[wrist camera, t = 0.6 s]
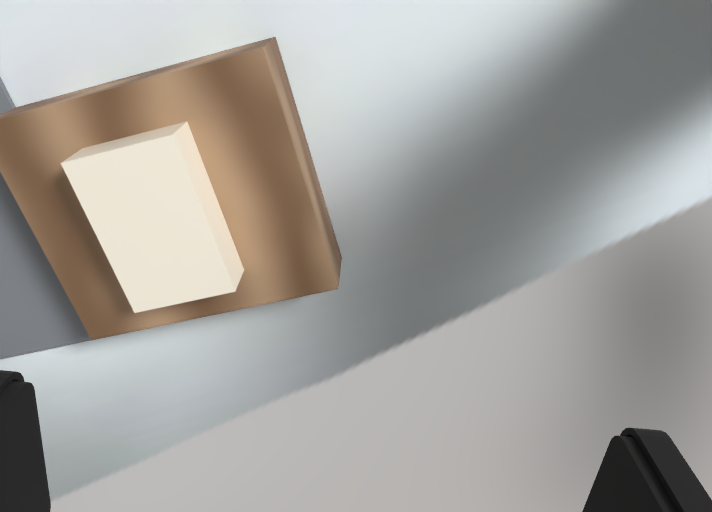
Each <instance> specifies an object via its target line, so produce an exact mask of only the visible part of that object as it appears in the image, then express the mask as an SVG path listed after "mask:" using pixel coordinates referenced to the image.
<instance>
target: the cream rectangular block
mask: <svg viewBox="0 0 712 512" xmlns="http://www.w3.org/2000/svg"><path fill="white" fill-rule="evenodd" d="M61 165H62V167H63V169H64V171H65V173H66V175H67V177H68V179H69V181H70V183H71V185H72V187H73V189H74V191H75V193H76V195H77V198H78V200H79V202H80V204H81V206H82V208H83V210H84V212H85V214H86V216H87V218H88V220H89V222H90V224H91V226H92V228H93V230H94V232H95V234H96V236H97V238H98V240H99V242H100V244H101V246H102V248H103V250H104V252H105V254H106V256H107V258H108V260H109V262H110V264H111V266H112V269H113V271H114V273H115V275H116V277H117V279H118V281H119V283H120V285H121V287H122V289H123V291H124V293H125V295H126V297H127V299H128V301H129V303H130V305H131V307H132V309H133V311H134V313H137V312H142V311H147V310H152V309H156V308H161V307H166V306H170V305H175V304H180V303H184V302H189V301H194V300H199V299H203V298H208V297H213V296H217V295H222V294H227V293H231V292H235V291H236V289H237V286H238V284H239V281H240V279H241V276H242V274H243V272H244V268H243V266H242V263H241V260H240V258H239V255H238V253H237V250H236V247H235V245H234V242H233V240H232V237H231V234H230V232H229V229H228V227H227V224H226V221H225V219H224V216H223V214H222V211H221V208H220V206H219V203H218V201H217V198H216V195H215V193H214V190H213V188H212V185H211V182H210V180H209V177H208V175H207V172H206V169H205V167H204V164H203V161H202V159H201V156H200V154H199V151H198V148H197V146H196V143H195V141H194V138H193V135H192V133H191V130H190V128H189V125H188V122H183V123H179V124H175V125H171V126H167V127H163V128H159V129H156V130H152V131H148V132H144V133H140V134H136V135H132V136H128V137H125V138H121V139H117V140H113V141H109V142H105V143H101V144H97V145H93V146H90V147H86V148H82V149H81V150H79V151H78V152H76V153H75V154H73V155H72V156H71V157H69V158H68V159H66V160H65V161H63V162H62V163H61Z"/></svg>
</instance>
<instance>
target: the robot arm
mask: <svg viewBox="0 0 712 512" xmlns="http://www.w3.org/2000/svg"><path fill="white" fill-rule="evenodd" d="M50 508H51V504H50V496H49V489H48V482H47V475H46V468H45V461H44V454H43V446H42V439H41V432H40V425H39V418H38V411H37V404H36V397H35V390H34V386H33V385H32V383H29V382H24V378H23V376H22V375H21V373H19V372H13V371H2V370H0V512H50ZM583 512H712V500H711V498H710V497H709V496H708V494H707V492H706V491H705V490H704V488H703V486H702V485H701V483H700V482H699V480H698V479H697V477H696V476H695V474H694V473H693V471H692V470H691V468H690V467H689V465H688V464H687V462H686V461H685V459H684V458H683V456H682V455H681V453H680V452H679V450H678V449H677V447H676V446H675V444H674V443H673V441H672V440H671V438H670V437H669V436H668V435H667V433H665V432H663V431H660V430H649V429H638V428H626V429H625V430H623V431H622V433H621V435H620V436H614V437H613V438H612V439H611V441H610V444H609V446H608V448H607V451H606V453H605V456H604V458H603V461H602V464H601V466H600V469H599V471H598V474H597V476H596V479H595V481H594V484H593V486H592V489H591V491H590V494H589V496H588V499H587V501H586V504H585V507H584V509H583Z"/></svg>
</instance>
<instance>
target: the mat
mask: <svg viewBox="0 0 712 512" xmlns="http://www.w3.org/2000/svg"><path fill="white" fill-rule="evenodd" d="M14 108H16V107H15V105H14V103H13V101H12V99H11V97H10V95H9V94H8V92H7V90H6V88H5V86H4V84H3V82H2V80H1V78H0V115H1V114H3V113H5V112H7V111H9V110H12V109H14ZM89 340H91V338H90V336H89V334H88V332H87V330H86V329H85V327H84V325H83V323H82V321H81V319H80V318H79V316H78V314H77V312H76V310H75V308H74V307H73V305H72V303H71V301H70V299H69V297H68V295H67V294H66V292H65V290H64V288H63V286H62V284H61V283H60V281H59V279H58V277H57V275H56V273H55V272H54V270H53V268H52V266H51V264H50V262H49V260H48V259H47V257H46V255H45V253H44V251H43V249H42V248H41V246H40V244H39V242H38V240H37V238H36V237H35V235H34V233H33V231H32V229H31V227H30V225H29V224H28V222H27V220H26V218H25V216H24V214H23V213H22V211H21V209H20V207H19V205H18V203H17V202H16V200H15V198H14V196H13V194H12V192H11V190H10V189H9V187H8V185H7V183H6V181H5V179H4V178H3V176H2V174H1V172H0V359H3V358H8V357H12V356H17V355H22V354H27V353H32V352H36V351H41V350H46V349H51V348H56V347H60V346H65V345H70V344H75V343H80V342H84V341H89Z"/></svg>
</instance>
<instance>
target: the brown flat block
mask: <svg viewBox="0 0 712 512" xmlns="http://www.w3.org/2000/svg"><path fill="white" fill-rule="evenodd" d="M183 122H188V125H189V128H190V130H191V133H192V135H193V138H194V141H195V143H196V146H197V148H198V151H199V154H200V156H201V159H202V161H203V164H204V167H205V169H206V172H207V175H208V177H209V180H210V182H211V185H212V188H213V190H214V193H215V195H216V198H217V201H218V203H219V206H220V208H221V211H222V214H223V216H224V219H225V221H226V224H227V227H228V229H229V232H230V234H231V237H232V240H233V242H234V245H235V247H236V250H237V253H238V255H239V258H240V260H241V263H242V266H243V268H244V272H243V274H242V276H241V279H240V281H239V284H238V286H237V289H236V291H235V292H231V293H227V294H222V295H217V296H213V297H208V298H203V299H199V300H194V301H189V302H184V303H180V304H175V305H170V306H166V307H161V308H156V309H152V310H147V311H142V312H137V313H134V311H133V309H132V307H131V305H130V303H129V301H128V299H127V297H126V295H125V293H124V291H123V289H122V287H121V285H120V283H119V281H118V279H117V277H116V275H115V273H114V271H113V269H112V266H111V264H110V262H109V260H108V258H107V256H106V254H105V252H104V250H103V248H102V246H101V244H100V242H99V240H98V238H97V236H96V234H95V232H94V230H93V228H92V226H91V224H90V222H89V220H88V218H87V216H86V214H85V212H84V210H83V208H82V206H81V204H80V202H79V200H78V198H77V195H76V193H75V191H74V189H73V187H72V185H71V183H70V181H69V179H68V177H67V175H66V173H65V171H64V169H63V167H62V165H61V163H62V162H63V161H65V160H66V159H68V158H69V157H71V156H72V155H73V154H75V153H76V152H78V151H79V150H81V149H82V148H86V147H90V146H93V145H97V144H101V143H105V142H109V141H113V140H117V139H121V138H125V137H128V136H132V135H136V134H140V133H144V132H148V131H152V130H156V129H159V128H163V127H167V126H171V125H175V124H179V123H183ZM0 172H1V174H2V176H3V178H4V179H5V181H6V183H7V185H8V187H9V189H10V190H11V192H12V194H13V196H14V198H15V200H16V202H17V203H18V205H19V207H20V209H21V211H22V213H23V214H24V216H25V218H26V220H27V222H28V224H29V225H30V227H31V229H32V231H33V233H34V235H35V237H36V238H37V240H38V242H39V244H40V246H41V248H42V249H43V251H44V253H45V255H46V257H47V259H48V260H49V262H50V264H51V266H52V268H53V270H54V272H55V273H56V275H57V277H58V279H59V281H60V283H61V284H62V286H63V288H64V290H65V292H66V294H67V295H68V297H69V299H70V301H71V303H72V305H73V307H74V308H75V310H76V312H77V314H78V316H79V318H80V319H81V321H82V323H83V325H84V327H85V329H86V330H87V332H88V334H89V336H90V338H91V340H95V339H100V338H105V337H110V336H114V335H119V334H124V333H129V332H134V331H138V330H143V329H148V328H153V327H158V326H162V325H167V324H172V323H177V322H182V321H186V320H191V319H196V318H201V317H206V316H210V315H215V314H220V313H225V312H230V311H234V310H239V309H244V308H249V307H254V306H258V305H263V304H268V303H273V302H278V301H282V300H287V299H292V298H297V297H302V296H306V295H311V294H316V293H321V292H326V291H330V290H335V289H338V285H339V277H340V268H341V259H342V257H341V254H340V251H339V247H338V244H337V241H336V237H335V234H334V231H333V227H332V224H331V221H330V217H329V214H328V211H327V207H326V204H325V201H324V197H323V194H322V191H321V187H320V184H319V181H318V177H317V174H316V171H315V167H314V164H313V161H312V157H311V154H310V151H309V147H308V144H307V141H306V137H305V134H304V131H303V127H302V124H301V121H300V117H299V114H298V111H297V107H296V104H295V101H294V97H293V94H292V91H291V87H290V84H289V81H288V77H287V74H286V71H285V67H284V64H283V61H282V57H281V54H280V51H279V47H278V44H277V41H276V37H273V38H269V39H266V40H262V41H259V42H255V43H251V44H248V45H244V46H240V47H237V48H233V49H229V50H226V51H222V52H218V53H215V54H211V55H207V56H204V57H200V58H196V59H193V60H189V61H185V62H182V63H178V64H174V65H171V66H167V67H163V68H160V69H156V70H152V71H149V72H145V73H141V74H138V75H134V76H130V77H127V78H123V79H119V80H116V81H112V82H108V83H105V84H101V85H97V86H94V87H90V88H86V89H83V90H79V91H75V92H72V93H68V94H64V95H61V96H57V97H53V98H50V99H46V100H42V101H39V102H35V103H31V104H28V105H24V106H20V107H17V108H14V109H12V110H9V111H7V112H5V113H3V114H1V115H0Z"/></svg>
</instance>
